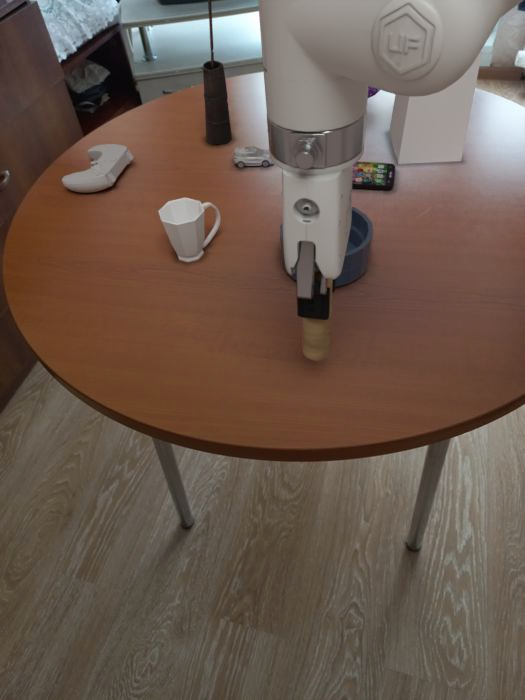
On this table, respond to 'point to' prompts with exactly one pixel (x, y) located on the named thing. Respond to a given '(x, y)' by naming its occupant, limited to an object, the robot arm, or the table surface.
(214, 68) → the butter churn
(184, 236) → the cup
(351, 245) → the bowl
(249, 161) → the toy car
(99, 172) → the game controller
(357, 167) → the smartphone
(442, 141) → the milk
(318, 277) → the stick
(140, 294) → the table surface
